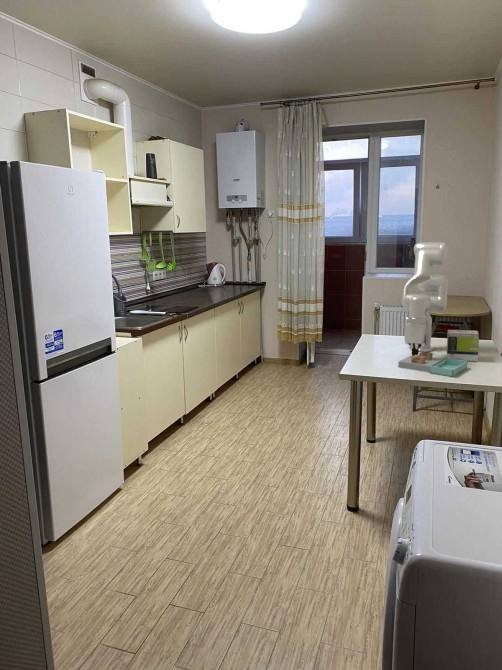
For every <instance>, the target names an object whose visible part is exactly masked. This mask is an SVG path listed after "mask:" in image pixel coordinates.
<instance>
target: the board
mask: <svg viewBox="0 0 502 670" xmlns="http://www.w3.org/2000/svg"><path fill="white" fill-rule="evenodd" d="M411 360H412V354H411V355H408V356H407V357H405V358H403V359H400V360H398V368H401V369H407V370H412V371H419V372H426V373H430V366H435V365H437V364H439V363H441V362H443V361H444V359H442V358H436V357H432V359H430V360H425V362H424V363H423V364H417V363H411Z"/></svg>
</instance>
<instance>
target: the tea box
mask: <svg viewBox="0 0 502 670" xmlns="http://www.w3.org/2000/svg"><path fill="white" fill-rule="evenodd" d="M446 336H447V338H446V358H449V359H456V360H463V361H469V362H478V361H479V360H478V359H479V346H480V345H479V344H480V334H479V331H478V330H467V329H466V330H465V329H464V330H463V329H447V335H446Z"/></svg>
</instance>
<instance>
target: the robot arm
mask: <svg viewBox="0 0 502 670" xmlns="http://www.w3.org/2000/svg"><path fill="white" fill-rule="evenodd" d="M448 249H449V248H448V245H447V243H446V242H443V241H442V242H441V241H440V242H436V241H435V242H434V241H433V242H431V241H429V242H427V241H426V242H425V241H423V242H418V243H415V244H414V247H413V253H414V257H415V262H414V269H413V276H412V277H411V278H409V279H408V280H407V281H406V283H405V284H404V287H403V290H402V297H401V305H402V307H403V308H405V309H409V311H408V317H406V321H408V322H407V323H406V326H405V331H404V340H403V341H404V344H406V345H408V346H409V349H410V350H411V355H412V356H414V355H419V353H421V352H423V351H424V352H432V351H433V350H434V347H433V346H431V345H432V343H431V342H432V325H433V323H432V322H433V319H432V316H431V315H430V313H429V312H434V313H435V312H437V313H442V312H445V311H446V309H447V303H448V286H449V284H448V283H449V282H448V277H447V276H446V275H443V274H435V266H442V265H444V263H445V261H446V258H447V255H448ZM414 286H417V290H419V291H420V292H425V293H420V294H419V293H409V292H410V290H411V289H412V288H413V287H414ZM429 293H430V294H429ZM431 293H435V294H431ZM436 293H438V294H436Z"/></svg>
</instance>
